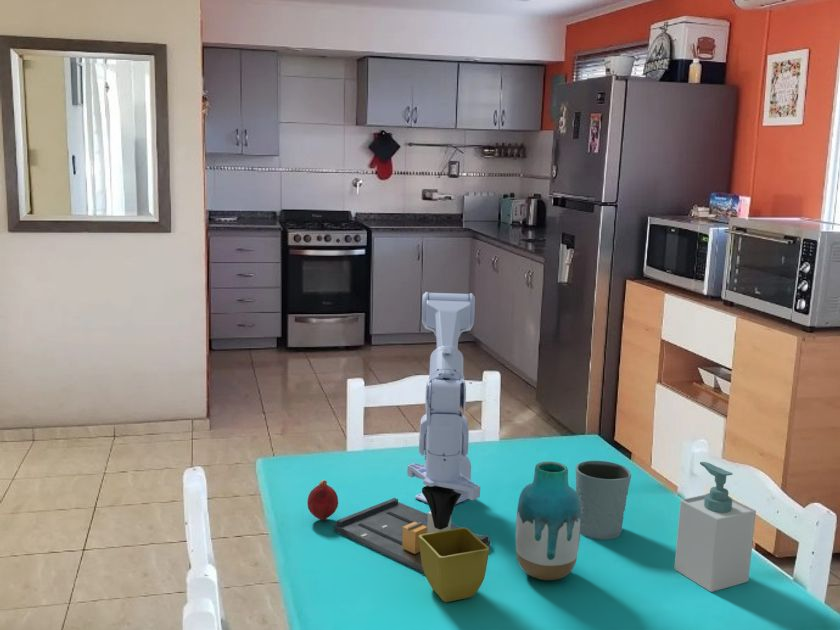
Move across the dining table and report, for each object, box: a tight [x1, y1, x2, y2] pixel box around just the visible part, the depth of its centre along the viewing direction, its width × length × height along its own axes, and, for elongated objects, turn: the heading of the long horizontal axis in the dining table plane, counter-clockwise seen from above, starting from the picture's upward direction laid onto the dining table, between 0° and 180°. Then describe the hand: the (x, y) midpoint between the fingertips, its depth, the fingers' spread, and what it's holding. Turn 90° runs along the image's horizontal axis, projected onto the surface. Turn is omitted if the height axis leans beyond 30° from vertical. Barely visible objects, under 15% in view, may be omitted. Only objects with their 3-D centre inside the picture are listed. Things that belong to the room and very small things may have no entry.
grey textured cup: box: [575, 460, 632, 541], centre depth 163 cm, size 10×10×12 cm
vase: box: [515, 461, 581, 581], centre depth 145 cm, size 11×11×19 cm
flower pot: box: [419, 526, 490, 603], centre depth 139 cm, size 9×9×9 cm
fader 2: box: [427, 511, 452, 533], centre depth 157 cm, size 3×3×4 cm
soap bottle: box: [673, 461, 757, 593], centre depth 146 cm, size 9×9×19 cm
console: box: [333, 497, 491, 575], centre depth 158 cm, size 16×24×2 cm, turn 47°
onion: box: [307, 479, 339, 521], centre depth 164 cm, size 6×6×8 cm
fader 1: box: [402, 522, 427, 554], centre depth 151 cm, size 3×3×4 cm
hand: (441, 526), depth 146 cm, fingers closed
